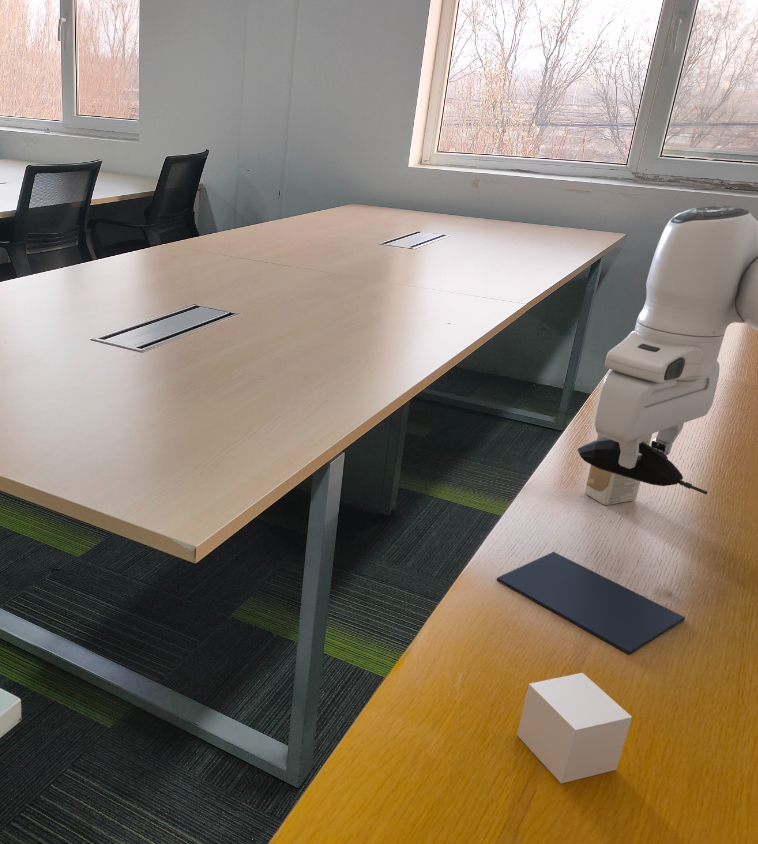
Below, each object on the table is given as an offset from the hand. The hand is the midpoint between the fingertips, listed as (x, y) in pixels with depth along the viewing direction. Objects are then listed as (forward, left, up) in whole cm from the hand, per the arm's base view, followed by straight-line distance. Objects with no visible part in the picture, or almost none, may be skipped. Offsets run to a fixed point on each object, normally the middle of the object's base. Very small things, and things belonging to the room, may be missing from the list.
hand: (643, 460), depth 97 cm
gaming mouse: (0, 0, -2) cm, 2 cm away
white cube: (-15, +35, -16) cm, 41 cm away
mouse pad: (-2, +10, -15) cm, 18 cm away
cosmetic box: (+12, -19, -16) cm, 28 cm away
